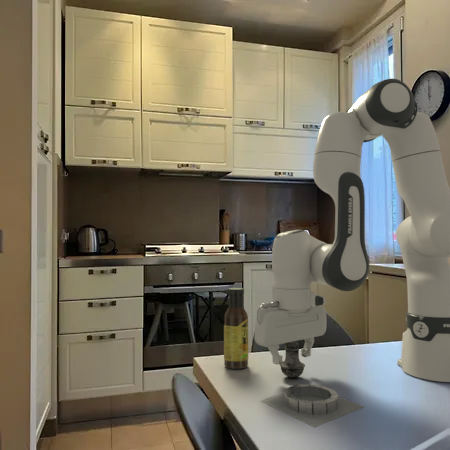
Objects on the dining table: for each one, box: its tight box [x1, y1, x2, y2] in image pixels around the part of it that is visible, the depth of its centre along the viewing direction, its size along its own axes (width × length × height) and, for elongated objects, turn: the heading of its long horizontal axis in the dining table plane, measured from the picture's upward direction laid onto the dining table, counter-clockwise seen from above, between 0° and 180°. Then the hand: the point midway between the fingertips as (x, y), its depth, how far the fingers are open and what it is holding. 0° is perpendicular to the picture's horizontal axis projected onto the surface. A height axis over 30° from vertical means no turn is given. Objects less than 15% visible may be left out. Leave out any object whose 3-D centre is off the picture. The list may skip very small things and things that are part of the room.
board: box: [260, 392, 365, 428], centre depth 79 cm, size 14×14×1 cm
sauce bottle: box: [223, 287, 249, 370], centre depth 105 cm, size 6×6×20 cm
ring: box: [284, 383, 339, 415], centre depth 79 cm, size 10×10×2 cm
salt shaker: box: [278, 340, 306, 380], centre depth 94 cm, size 6×6×12 cm
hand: (292, 359), depth 94 cm, fingers open, 8 cm apart
